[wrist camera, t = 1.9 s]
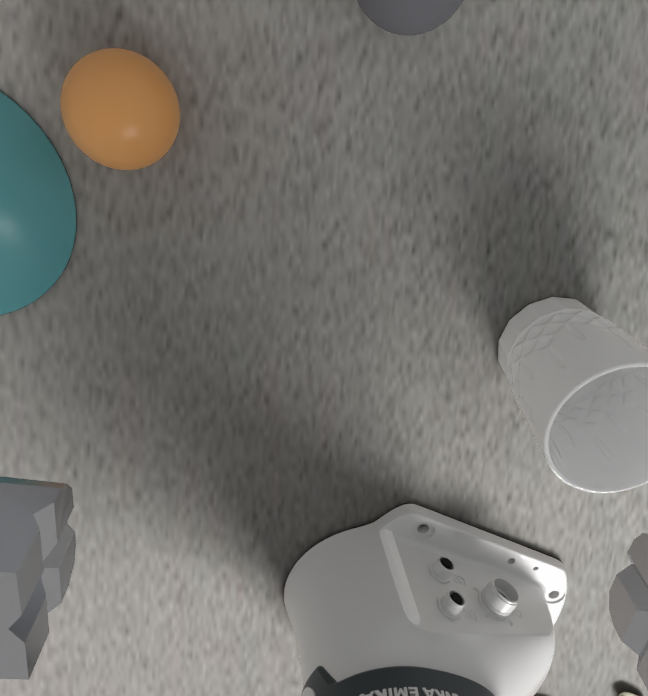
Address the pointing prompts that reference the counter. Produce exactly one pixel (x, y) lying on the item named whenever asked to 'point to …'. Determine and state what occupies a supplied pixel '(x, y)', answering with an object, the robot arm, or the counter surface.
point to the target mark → (31, 210)
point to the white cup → (580, 393)
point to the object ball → (120, 109)
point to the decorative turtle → (627, 694)
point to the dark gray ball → (409, 14)
